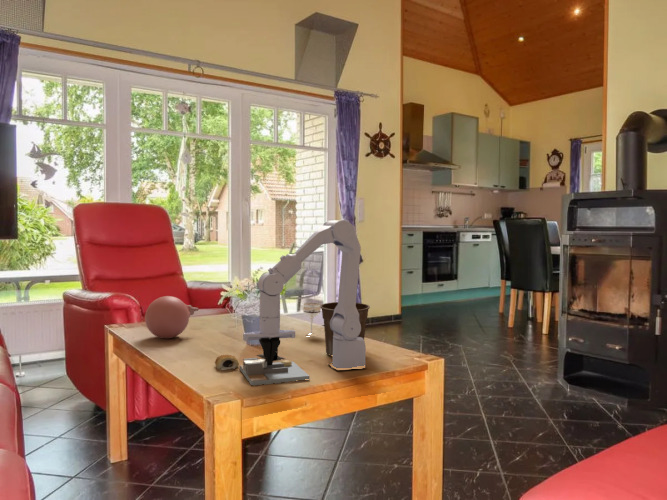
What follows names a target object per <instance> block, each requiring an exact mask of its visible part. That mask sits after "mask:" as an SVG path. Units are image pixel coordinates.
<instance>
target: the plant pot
mask: <svg viewBox="0 0 667 500" xmlns="http://www.w3.org/2000/svg"><path fill="white" fill-rule="evenodd" d="M337 305H338V301H335V302H332V301H331V302H326V303H322V304H320V309H321V315H322V319H323V328H324V330H323V331H324V339H325V341H324V342H325V353H327V354H330V355H333V333H334V332H333V331H332V330H331V328H330V320H331V318H332V317H333V314H334V309H335V308H336V306H337ZM370 308H371V307H370V305H369V304H366V303H360V302H356V309H357V311H358V313H359V322H360V324H361V332H360V334H359V335H358V336H357V337H362V338H363V339H364V340H365V337H366V336H365V335H366V325H367V320H368V315H369V309H370ZM327 354H326V355H327Z"/></svg>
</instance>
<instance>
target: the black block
mask: <svg viewBox="0 0 667 500" xmlns="http://www.w3.org/2000/svg"><path fill="white" fill-rule="evenodd" d="M278 348H279V347H278ZM278 348H277V351H276V353H275V356H274V359H273V362H275V361H282V360H281V359H283V360H285V358H284V357H282V356H279V355H278V352H279V351H278ZM262 352H263V353H261V354H260V353H259V354H256V355H255V356H257V357H259V358H260V359H265V355H264V351H263V350H262ZM265 360H266V359H265Z"/></svg>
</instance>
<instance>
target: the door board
mask: <svg viewBox="0 0 667 500" xmlns="http://www.w3.org/2000/svg"><path fill="white" fill-rule="evenodd" d="M258 359H259V358H258V357H249V358H243V359H242V360H243V361H245V360H258ZM239 371H240V372H241V373H242V374H244V375H243V376H244V377H245V379H246V380H247V381H249V382H248V383H249V385H250V386H251V385H254V386H263V385H262V384H264V385H273V383H275V384H282V383H281V382H285V383H290V382H289V381H296V380H305V379H309V380H310V374H308V373H307V372H306V371H305V370H303V368H301V367H300V366H299V365H298V364H297V363H296V362H294V361H292V360H287V359H283V360H280V361H279V362H273V364H272V365H267V369H262V362H256V363H247V373H245V372H244V371H243V364H239ZM296 382H297V381H296Z"/></svg>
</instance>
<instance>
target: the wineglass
mask: <svg viewBox="0 0 667 500" xmlns="http://www.w3.org/2000/svg"><path fill="white" fill-rule="evenodd" d="M302 305H303V307H302V311H303V314H304V315H305V316H306V317H308V318H309V319H310V333H307V334H308V335H311V334H315V333H313V319H315V318H316V317H317V316H319V314H320V313H321V311H322V309H321V308H320V306H321V303H319V302H305V303H303V304H302Z"/></svg>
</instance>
